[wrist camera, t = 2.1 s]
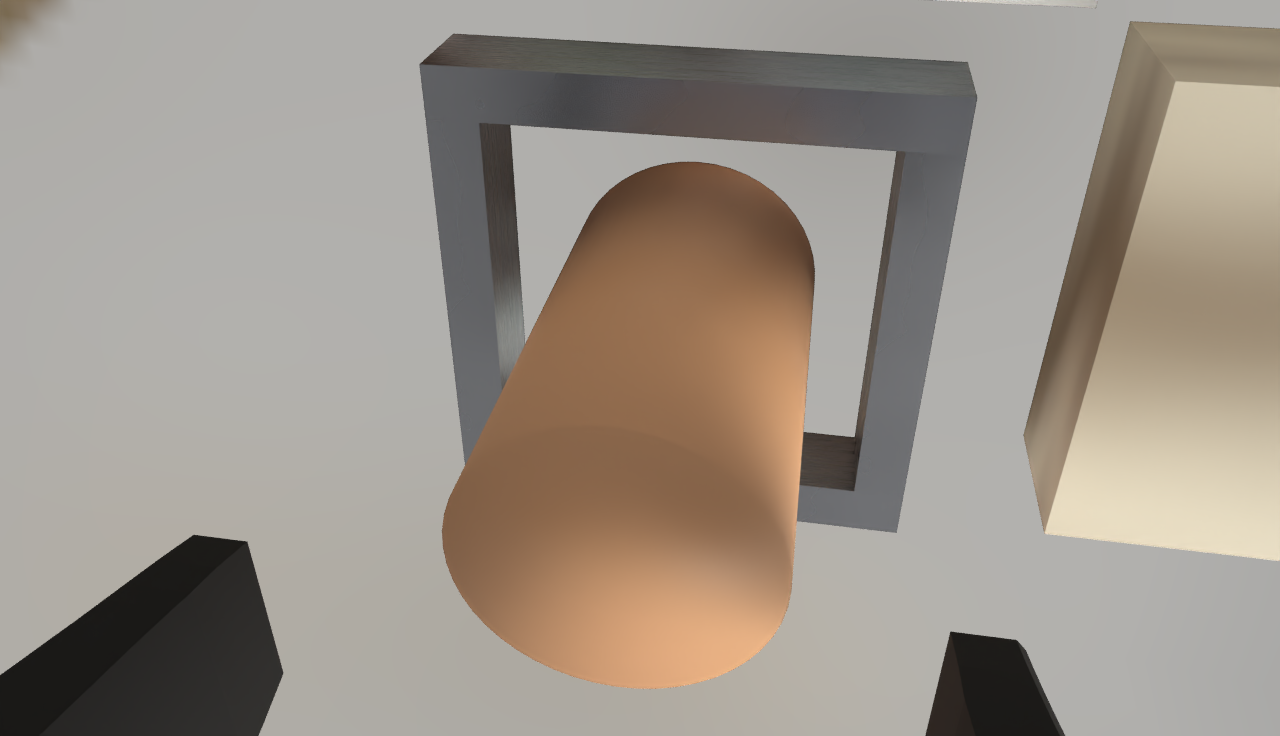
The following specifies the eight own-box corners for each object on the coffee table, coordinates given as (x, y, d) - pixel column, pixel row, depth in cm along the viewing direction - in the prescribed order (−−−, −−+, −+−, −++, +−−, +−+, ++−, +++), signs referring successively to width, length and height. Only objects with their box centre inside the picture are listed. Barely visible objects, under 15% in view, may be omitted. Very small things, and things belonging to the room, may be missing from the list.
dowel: (803, 385, 18) (777, 709, 13) (580, 362, 19) (459, 664, 13) (826, 171, 16) (807, 447, 10) (573, 152, 17) (423, 406, 11)
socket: (894, 477, 19) (896, 533, 18) (491, 433, 20) (467, 482, 19) (967, 62, 15) (977, 97, 14) (453, 34, 16) (419, 63, 15)
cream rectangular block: (1272, 461, 18) (1327, 566, 15) (1023, 434, 18) (1044, 534, 16) (1455, 37, 14) (1559, 103, 12) (1130, 21, 14) (1176, 81, 12)
